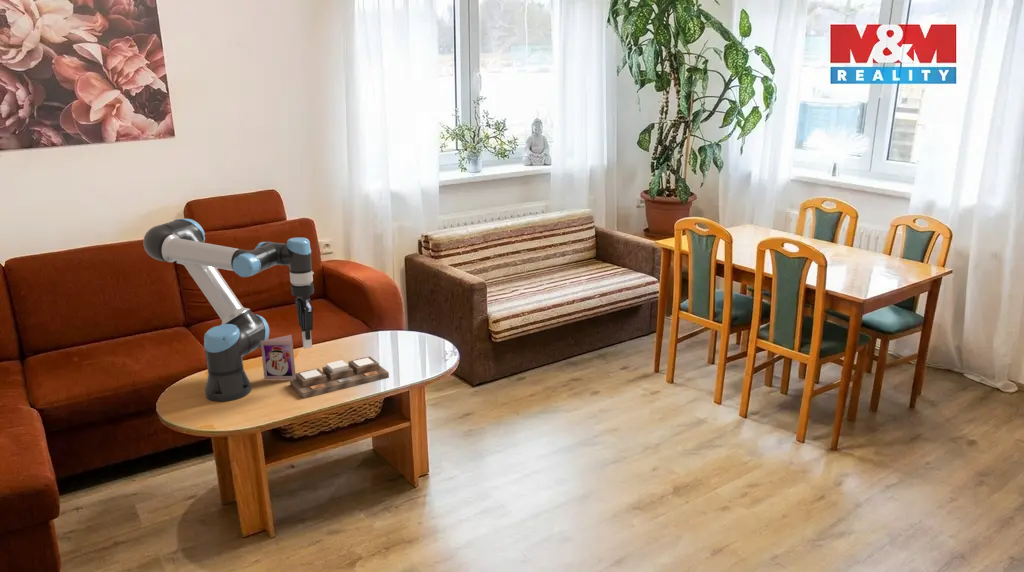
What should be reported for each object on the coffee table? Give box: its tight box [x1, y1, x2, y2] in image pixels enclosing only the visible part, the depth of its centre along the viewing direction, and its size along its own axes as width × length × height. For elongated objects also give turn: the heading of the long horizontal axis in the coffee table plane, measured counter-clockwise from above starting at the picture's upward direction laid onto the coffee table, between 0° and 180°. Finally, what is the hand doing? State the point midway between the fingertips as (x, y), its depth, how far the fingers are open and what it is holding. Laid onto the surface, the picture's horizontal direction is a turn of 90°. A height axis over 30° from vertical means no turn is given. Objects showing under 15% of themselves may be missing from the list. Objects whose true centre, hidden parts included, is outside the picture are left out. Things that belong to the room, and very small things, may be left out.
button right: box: [353, 357, 374, 367], centre depth 291 cm, size 6×6×2 cm
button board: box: [289, 355, 390, 400], centre depth 285 cm, size 32×14×4 cm, turn 123°
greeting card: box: [260, 334, 296, 381], centre depth 288 cm, size 11×7×15 cm, turn 90°
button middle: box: [325, 359, 349, 373], centre depth 286 cm, size 6×6×2 cm
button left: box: [300, 368, 322, 380], centre depth 281 cm, size 6×6×2 cm
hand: (307, 347), depth 278 cm, fingers closed
